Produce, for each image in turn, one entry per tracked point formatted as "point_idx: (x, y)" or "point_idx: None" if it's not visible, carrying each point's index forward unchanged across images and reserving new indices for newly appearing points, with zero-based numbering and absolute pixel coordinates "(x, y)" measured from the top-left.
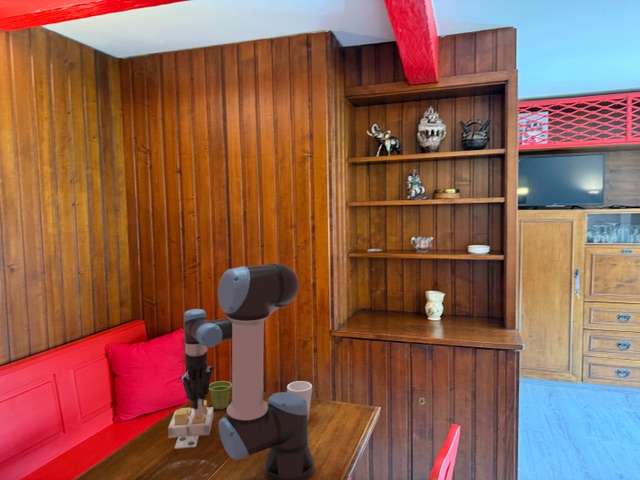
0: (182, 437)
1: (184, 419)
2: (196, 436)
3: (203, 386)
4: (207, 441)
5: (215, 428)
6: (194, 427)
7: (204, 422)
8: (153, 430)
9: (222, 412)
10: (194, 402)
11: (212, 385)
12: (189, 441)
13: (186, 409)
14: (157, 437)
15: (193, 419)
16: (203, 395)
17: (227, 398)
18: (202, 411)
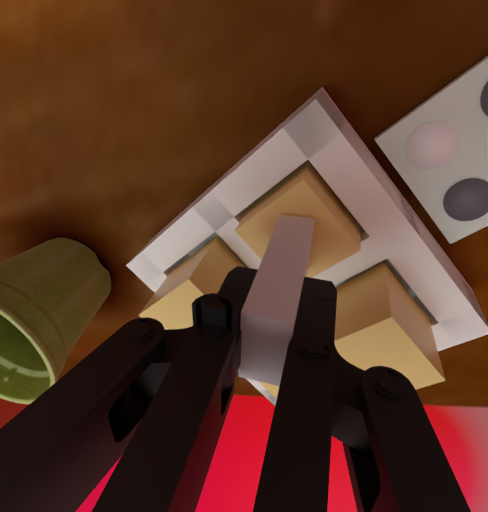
0: (452, 214)
1: (396, 297)
2: (396, 141)
3: (130, 461)
4: (410, 11)
5: (236, 117)
6: (386, 189)
7: (281, 184)
8: (425, 390)
9: (100, 221)
10: (333, 342)
11: (22, 387)
12: (483, 132)
13: None
14: (485, 340)
15: (350, 246)
16: (200, 336)
17: (16, 257)
18: (222, 269)
